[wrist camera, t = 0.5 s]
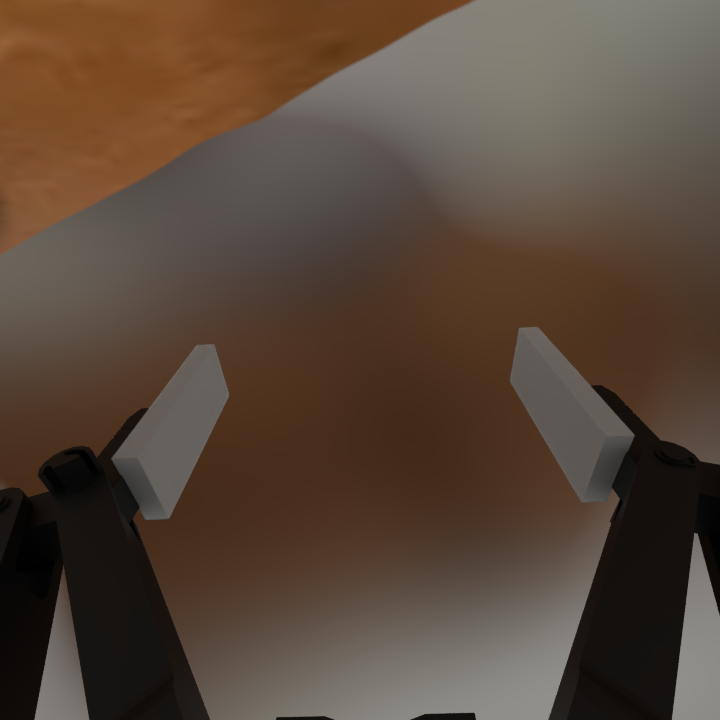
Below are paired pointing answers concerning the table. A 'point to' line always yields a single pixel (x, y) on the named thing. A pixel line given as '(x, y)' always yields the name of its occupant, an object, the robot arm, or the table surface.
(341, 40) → the table surface
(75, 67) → the table surface
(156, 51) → the table surface
